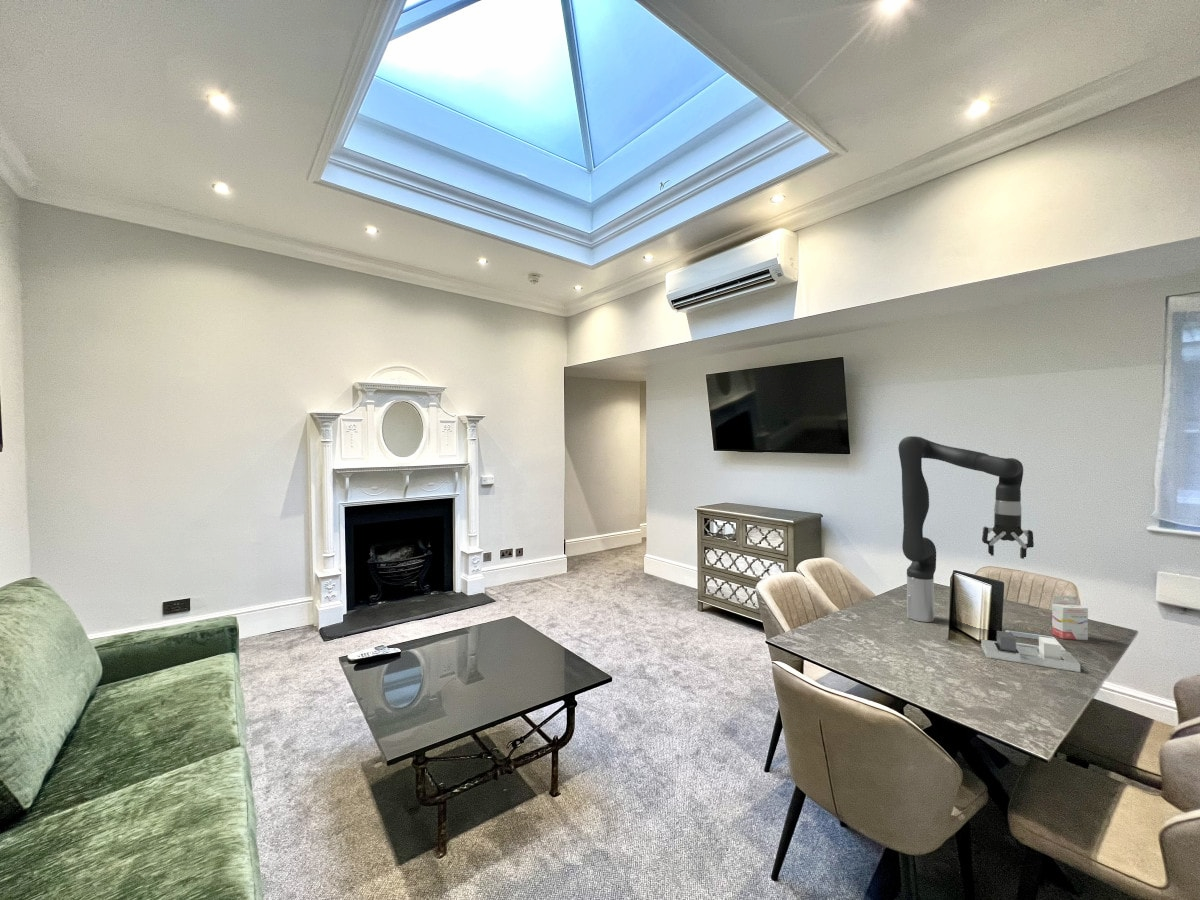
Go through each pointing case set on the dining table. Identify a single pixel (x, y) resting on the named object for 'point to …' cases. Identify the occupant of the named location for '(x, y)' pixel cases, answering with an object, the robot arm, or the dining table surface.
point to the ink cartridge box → (1069, 618)
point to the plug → (1049, 648)
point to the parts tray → (1033, 636)
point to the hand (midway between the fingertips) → (1006, 556)
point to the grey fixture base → (1025, 653)
